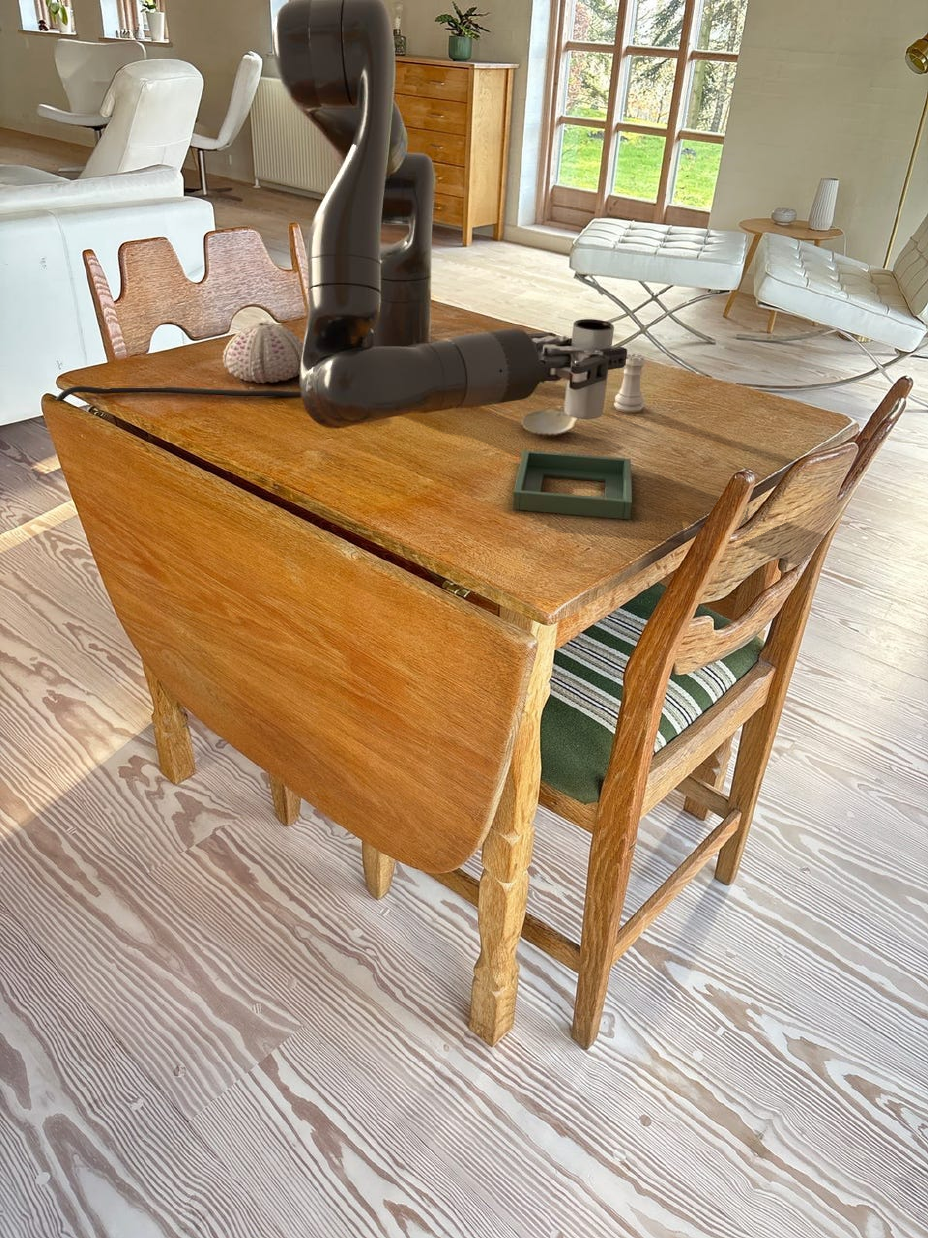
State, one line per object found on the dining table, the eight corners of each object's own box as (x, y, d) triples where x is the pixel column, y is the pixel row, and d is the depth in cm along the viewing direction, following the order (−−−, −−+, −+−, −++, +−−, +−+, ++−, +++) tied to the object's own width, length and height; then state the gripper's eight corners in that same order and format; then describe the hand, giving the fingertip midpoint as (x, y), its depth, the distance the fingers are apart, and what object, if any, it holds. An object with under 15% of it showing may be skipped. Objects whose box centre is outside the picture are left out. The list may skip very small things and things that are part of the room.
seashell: (514, 440, 136) (543, 445, 129) (509, 419, 135) (539, 423, 128) (562, 422, 139) (593, 427, 132) (558, 401, 137) (589, 405, 131)
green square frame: (512, 509, 111) (513, 492, 110) (522, 465, 123) (523, 449, 122) (629, 519, 110) (632, 502, 109) (628, 474, 122) (630, 458, 120)
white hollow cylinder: (560, 405, 114) (570, 318, 108) (598, 406, 114) (609, 319, 109) (567, 419, 110) (577, 329, 104) (606, 420, 110) (618, 330, 105)
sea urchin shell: (241, 392, 144) (236, 338, 140) (213, 368, 154) (208, 317, 150) (323, 381, 150) (320, 329, 146) (290, 358, 160) (287, 309, 156)
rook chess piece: (642, 414, 142) (649, 361, 137) (612, 411, 142) (618, 358, 138) (643, 405, 145) (650, 352, 141) (614, 402, 146) (620, 350, 142)
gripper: (526, 351, 95) (656, 333, 103) (451, 317, 105) (575, 302, 113) (521, 424, 98) (646, 400, 107) (449, 384, 109) (568, 365, 117)
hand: (609, 350), depth 110 cm, fingers closed on white hollow cylinder, 4 cm apart
